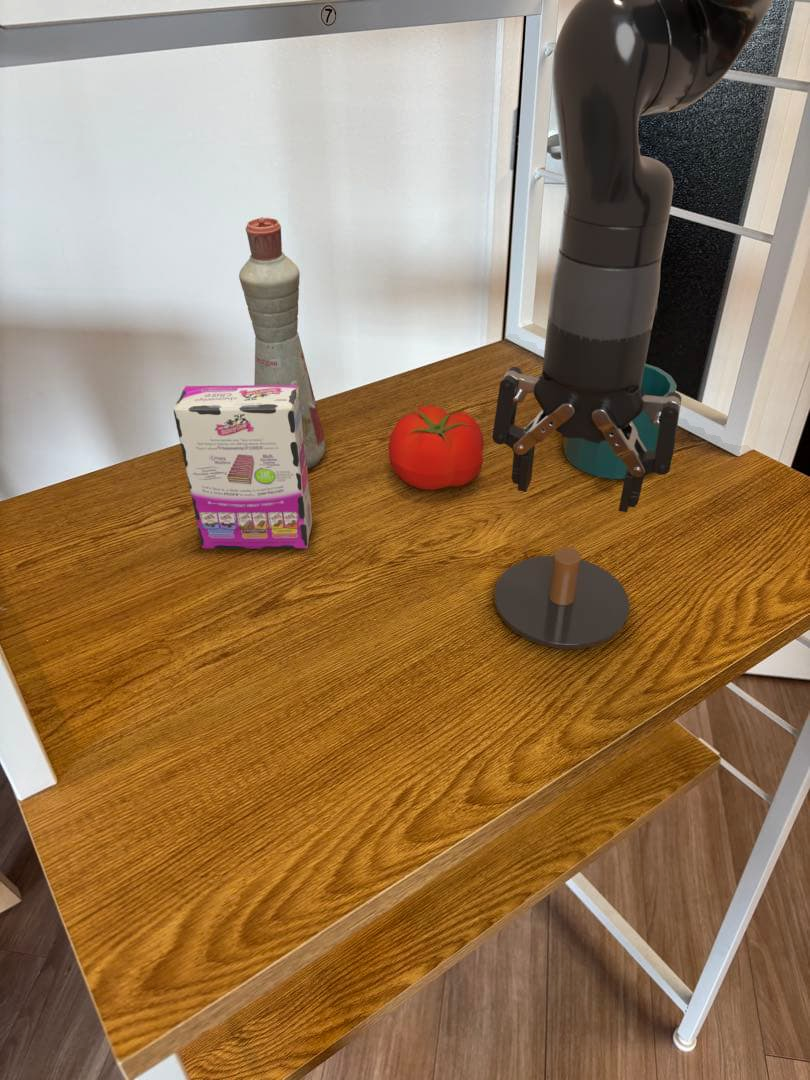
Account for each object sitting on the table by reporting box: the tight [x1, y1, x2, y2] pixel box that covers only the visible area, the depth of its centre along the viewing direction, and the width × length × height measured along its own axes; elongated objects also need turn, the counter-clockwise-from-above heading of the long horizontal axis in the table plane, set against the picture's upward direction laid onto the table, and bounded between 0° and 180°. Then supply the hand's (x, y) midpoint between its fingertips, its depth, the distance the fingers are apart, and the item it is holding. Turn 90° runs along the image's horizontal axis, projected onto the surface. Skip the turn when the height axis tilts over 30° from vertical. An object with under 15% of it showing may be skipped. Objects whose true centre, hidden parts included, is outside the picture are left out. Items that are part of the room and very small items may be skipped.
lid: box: [493, 546, 631, 650], centre depth 76 cm, size 12×12×6 cm
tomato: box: [387, 405, 485, 491], centre depth 93 cm, size 11×11×8 cm
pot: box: [562, 362, 678, 480], centre depth 96 cm, size 11×17×10 cm
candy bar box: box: [173, 384, 314, 550], centre depth 82 cm, size 11×5×16 cm, turn 89°
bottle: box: [238, 216, 326, 470], centre depth 90 cm, size 9×9×28 cm
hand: (573, 496), depth 70 cm, fingers open, 8 cm apart
